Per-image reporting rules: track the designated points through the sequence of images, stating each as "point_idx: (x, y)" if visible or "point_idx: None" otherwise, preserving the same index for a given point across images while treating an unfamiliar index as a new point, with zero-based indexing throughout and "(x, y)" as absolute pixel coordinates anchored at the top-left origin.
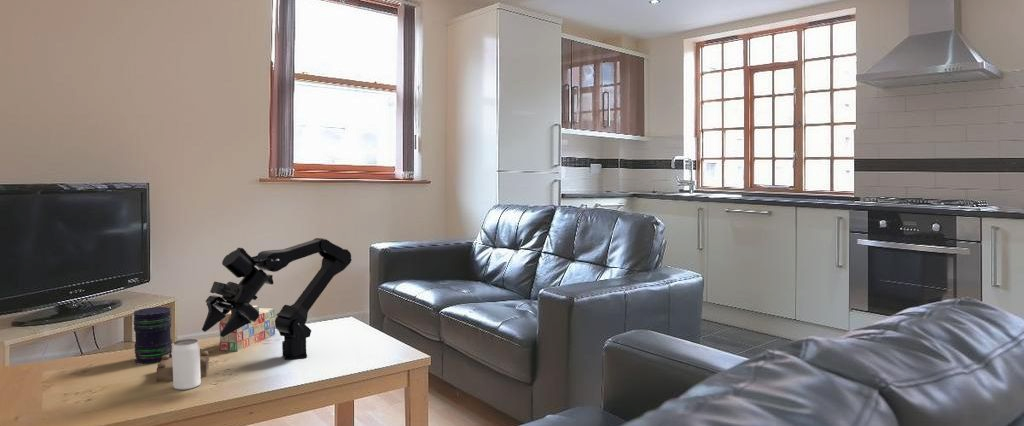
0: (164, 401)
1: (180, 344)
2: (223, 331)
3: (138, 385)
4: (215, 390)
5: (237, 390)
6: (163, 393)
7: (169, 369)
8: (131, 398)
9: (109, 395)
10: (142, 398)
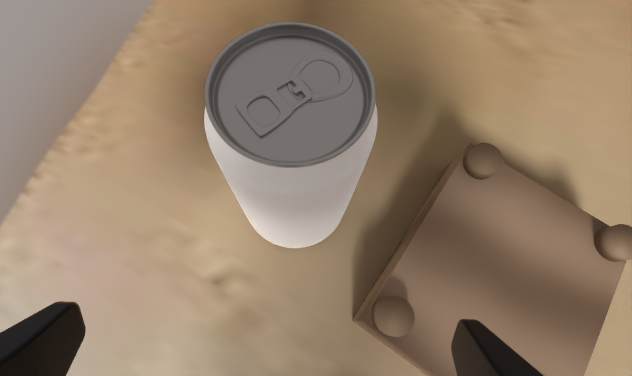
0: None
1: (286, 56)
2: (5, 334)
3: (453, 113)
4: (145, 234)
5: (53, 288)
6: None
7: (442, 185)
8: None
9: (420, 28)
10: None
